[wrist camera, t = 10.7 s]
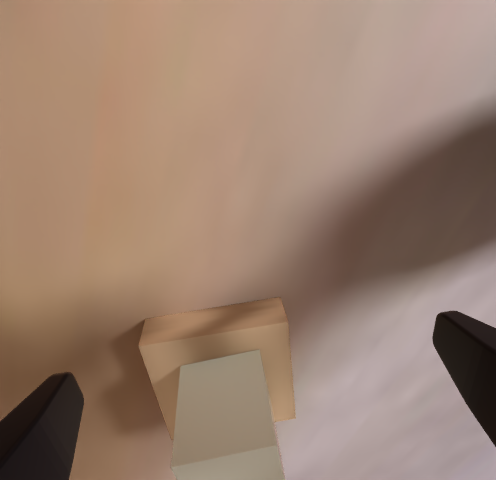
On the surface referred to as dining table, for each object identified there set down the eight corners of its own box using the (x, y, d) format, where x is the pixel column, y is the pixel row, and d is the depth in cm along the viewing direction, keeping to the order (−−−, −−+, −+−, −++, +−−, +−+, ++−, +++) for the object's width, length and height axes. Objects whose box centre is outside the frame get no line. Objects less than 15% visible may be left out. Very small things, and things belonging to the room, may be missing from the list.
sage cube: (259, 349, 21) (276, 444, 16) (271, 401, 23) (289, 500, 18) (180, 365, 21) (170, 467, 15) (199, 416, 23) (197, 520, 18)
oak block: (278, 292, 23) (288, 321, 20) (286, 384, 27) (295, 418, 24) (146, 313, 22) (138, 346, 20) (175, 403, 27) (171, 440, 24)
